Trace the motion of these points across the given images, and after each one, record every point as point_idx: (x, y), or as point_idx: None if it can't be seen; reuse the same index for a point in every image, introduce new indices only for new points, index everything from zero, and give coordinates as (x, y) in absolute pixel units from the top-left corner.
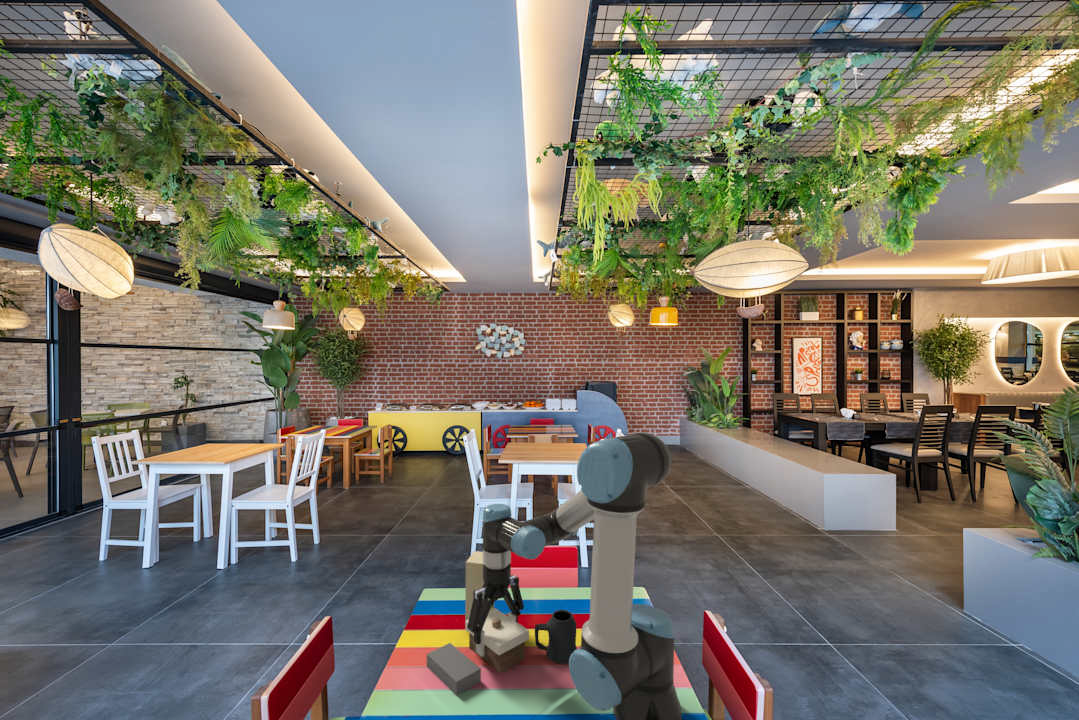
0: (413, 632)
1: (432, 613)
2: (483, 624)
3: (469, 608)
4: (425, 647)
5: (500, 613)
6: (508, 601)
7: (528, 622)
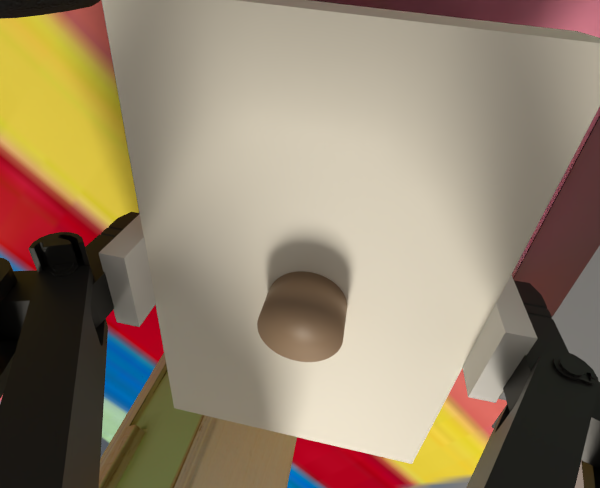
0: (429, 481)
1: (311, 482)
2: (536, 402)
3: (275, 474)
4: (478, 426)
5: (179, 357)
6: (69, 451)
7: (48, 230)
